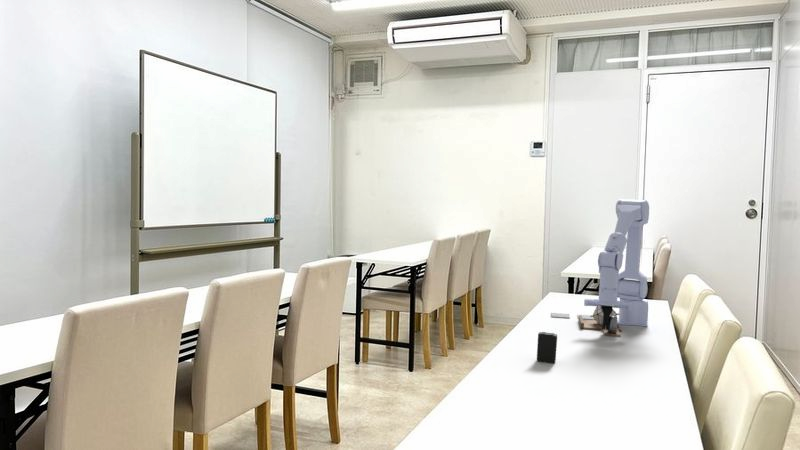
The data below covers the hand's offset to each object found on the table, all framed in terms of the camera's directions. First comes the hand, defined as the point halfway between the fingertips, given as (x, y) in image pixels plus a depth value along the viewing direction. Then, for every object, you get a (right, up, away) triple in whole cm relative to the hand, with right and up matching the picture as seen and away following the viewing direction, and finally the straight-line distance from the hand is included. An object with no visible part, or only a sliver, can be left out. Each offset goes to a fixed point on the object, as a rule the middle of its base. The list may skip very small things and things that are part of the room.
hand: (606, 329), depth 197 cm
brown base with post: (+1, -1, +8) cm, 8 cm away
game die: (+3, -1, +11) cm, 12 cm away
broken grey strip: (-4, 0, +25) cm, 25 cm away
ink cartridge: (-27, -4, -30) cm, 41 cm away
